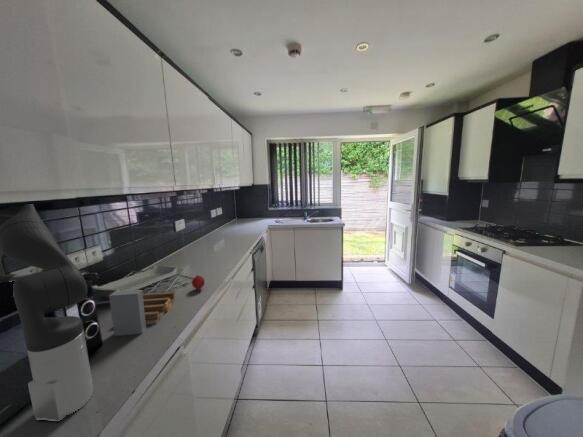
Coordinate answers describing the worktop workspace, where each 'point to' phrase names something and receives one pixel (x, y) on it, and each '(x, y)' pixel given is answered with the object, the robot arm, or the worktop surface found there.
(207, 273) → the worktop surface
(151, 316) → the rack
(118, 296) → the panel
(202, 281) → the onion
